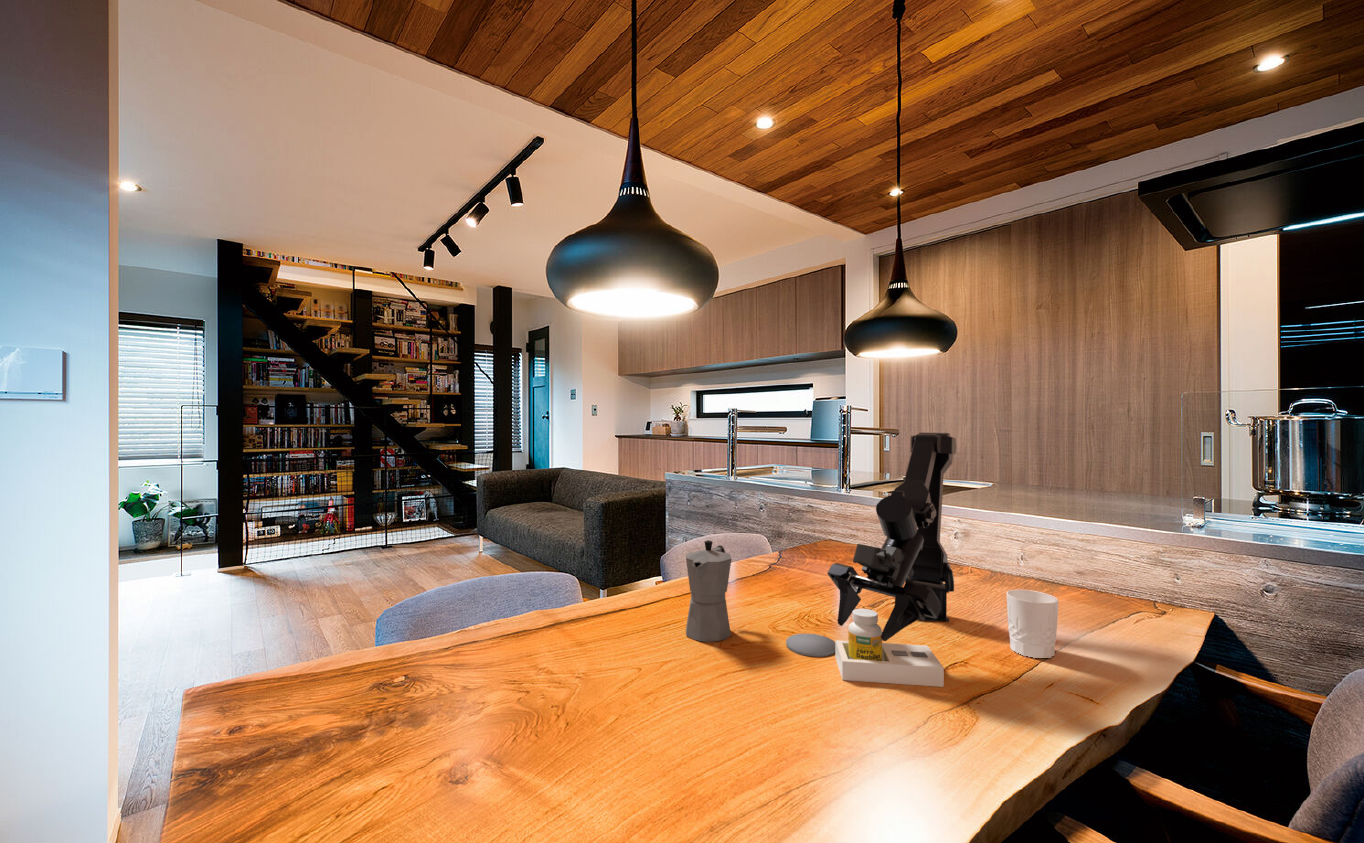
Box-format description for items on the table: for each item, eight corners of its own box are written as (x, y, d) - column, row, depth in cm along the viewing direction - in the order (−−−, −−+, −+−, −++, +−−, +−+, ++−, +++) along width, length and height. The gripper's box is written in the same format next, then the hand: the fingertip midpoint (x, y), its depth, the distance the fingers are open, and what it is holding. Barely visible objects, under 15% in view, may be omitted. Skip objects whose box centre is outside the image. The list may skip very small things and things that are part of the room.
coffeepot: (720, 650, 99) (720, 550, 99) (672, 641, 103) (672, 545, 103) (744, 621, 114) (744, 534, 114) (701, 615, 117) (701, 530, 117)
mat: (833, 638, 105) (833, 635, 105) (840, 658, 96) (840, 654, 96) (785, 635, 106) (785, 632, 106) (787, 655, 97) (787, 651, 97)
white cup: (1017, 639, 105) (1018, 586, 105) (1065, 653, 98) (1065, 597, 98) (998, 649, 100) (998, 594, 100) (1047, 665, 94) (1047, 606, 94)
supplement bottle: (876, 663, 94) (876, 607, 94) (886, 678, 89) (887, 618, 89) (844, 662, 94) (844, 606, 94) (853, 677, 89) (853, 617, 89)
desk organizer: (927, 663, 94) (927, 644, 94) (943, 686, 86) (943, 666, 86) (835, 657, 96) (835, 639, 96) (842, 680, 88) (842, 660, 88)
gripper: (833, 518, 101) (793, 589, 95) (932, 535, 87) (893, 621, 80) (859, 555, 106) (822, 625, 99) (956, 577, 91) (921, 661, 85)
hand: (860, 631), depth 91 cm, fingers open, 8 cm apart
